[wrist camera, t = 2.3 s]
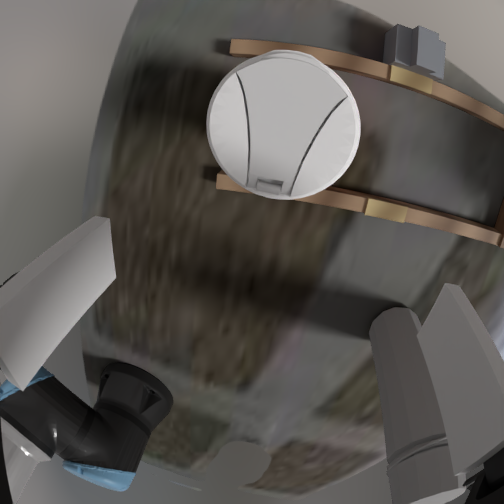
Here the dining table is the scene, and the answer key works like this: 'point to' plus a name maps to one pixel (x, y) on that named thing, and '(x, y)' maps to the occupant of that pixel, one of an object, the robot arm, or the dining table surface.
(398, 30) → the block
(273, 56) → the coffee cup
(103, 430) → the robot arm
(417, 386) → the water bottle
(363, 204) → the brown piece
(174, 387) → the dining table surface
